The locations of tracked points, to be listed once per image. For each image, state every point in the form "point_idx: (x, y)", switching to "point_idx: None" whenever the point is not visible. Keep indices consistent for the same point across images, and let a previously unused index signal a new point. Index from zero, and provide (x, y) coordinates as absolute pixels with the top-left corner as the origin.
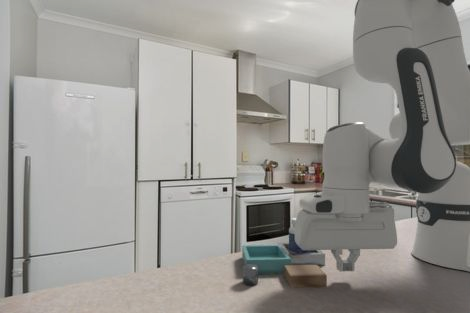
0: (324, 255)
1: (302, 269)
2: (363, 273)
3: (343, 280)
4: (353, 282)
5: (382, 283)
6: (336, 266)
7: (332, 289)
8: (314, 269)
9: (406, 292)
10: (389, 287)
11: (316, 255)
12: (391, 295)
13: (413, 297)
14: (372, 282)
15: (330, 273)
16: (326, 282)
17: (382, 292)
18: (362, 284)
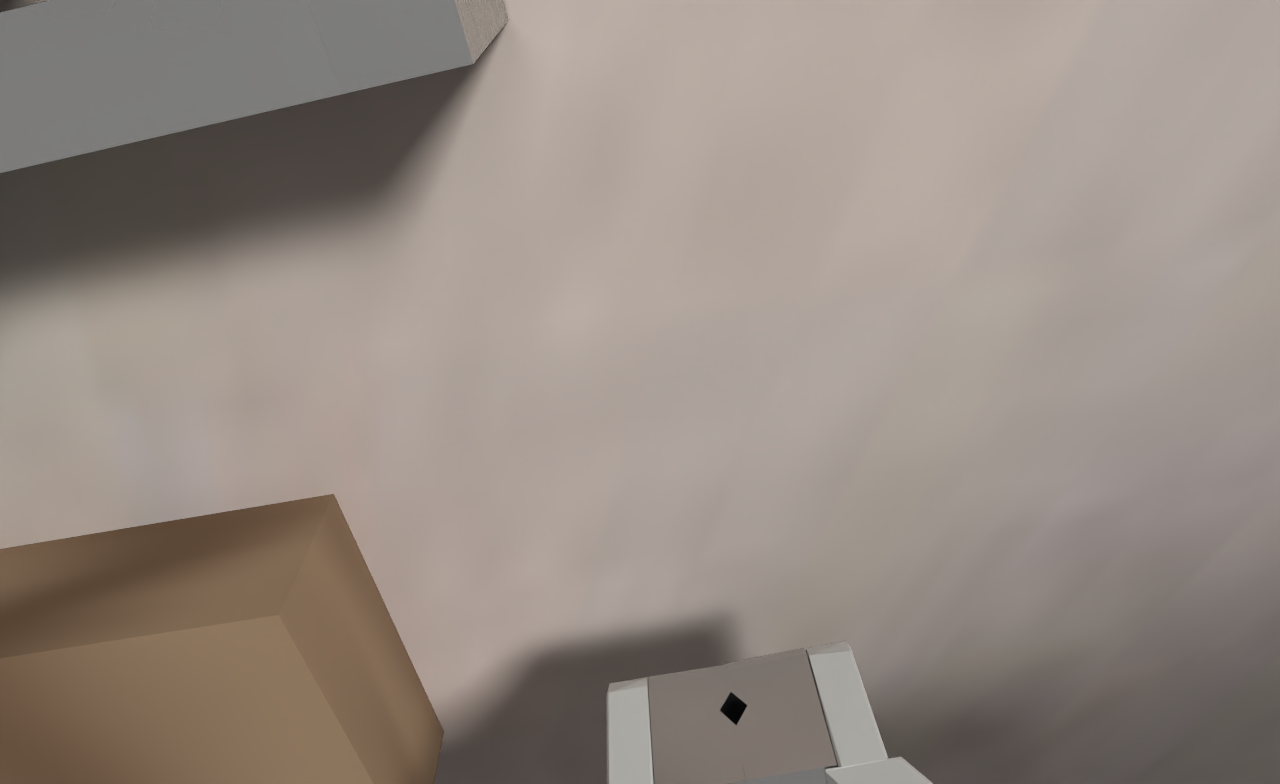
0: (461, 63)
1: (58, 782)
2: (1122, 328)
3: (689, 582)
4: (802, 611)
5: (1171, 584)
6: (606, 702)
7: (500, 767)
8: (243, 760)
9: (1274, 716)
10: (1177, 655)
11: (221, 115)
12: (1063, 778)
13: (1253, 778)
14: (1056, 578)
15: (551, 407)
16: (432, 777)
17: (1012, 747)
18: (892, 638)
